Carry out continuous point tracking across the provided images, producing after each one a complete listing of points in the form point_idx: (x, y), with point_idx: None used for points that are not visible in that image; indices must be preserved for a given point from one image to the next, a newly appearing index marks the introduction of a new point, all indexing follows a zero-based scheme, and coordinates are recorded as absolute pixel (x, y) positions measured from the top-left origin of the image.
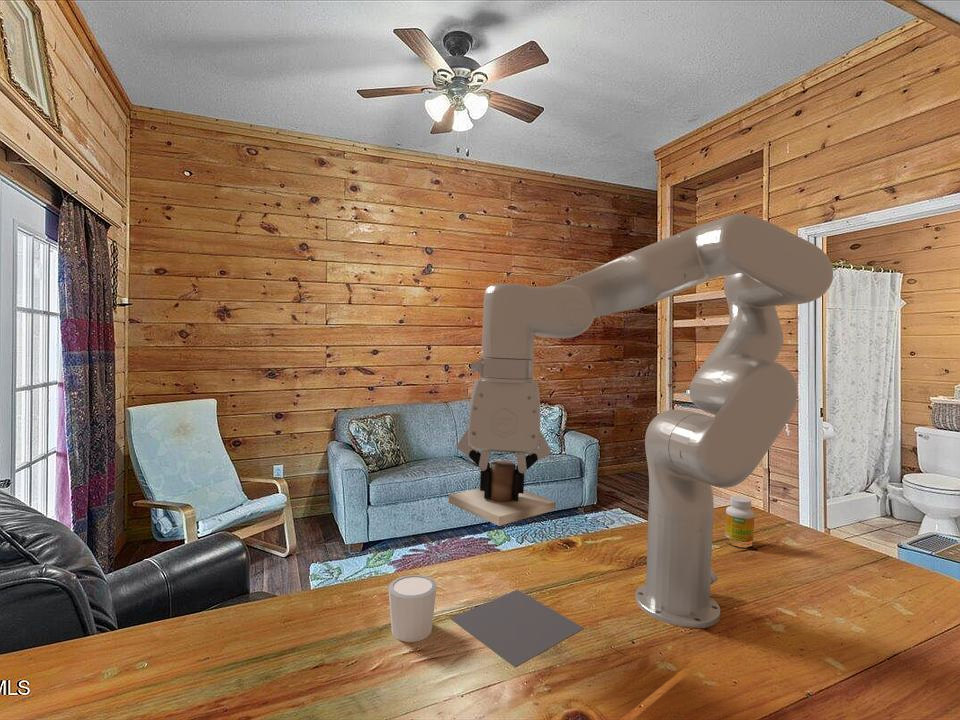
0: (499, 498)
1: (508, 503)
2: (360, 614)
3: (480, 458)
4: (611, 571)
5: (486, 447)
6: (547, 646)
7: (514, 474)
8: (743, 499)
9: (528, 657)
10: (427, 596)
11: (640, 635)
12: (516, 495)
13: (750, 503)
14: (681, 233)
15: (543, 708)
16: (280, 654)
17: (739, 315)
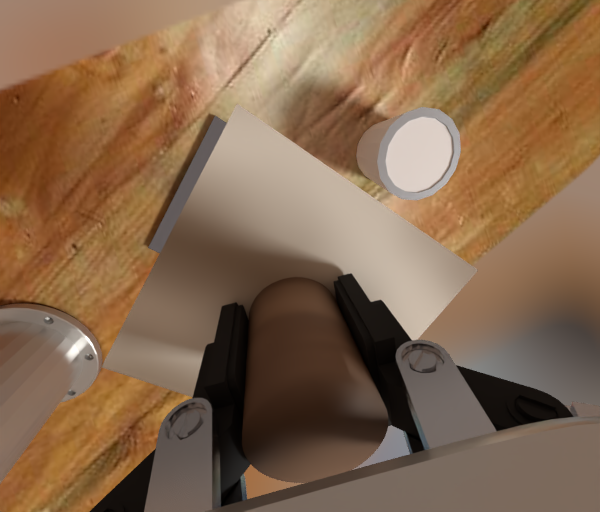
0: (292, 284)
1: (254, 277)
2: (466, 170)
3: (469, 394)
4: (157, 405)
5: (510, 461)
6: (185, 182)
7: (235, 380)
8: None
9: (203, 145)
10: (384, 134)
11: (69, 266)
12: (227, 312)
13: None
14: None
15: (149, 42)
16: (541, 37)
17: None
